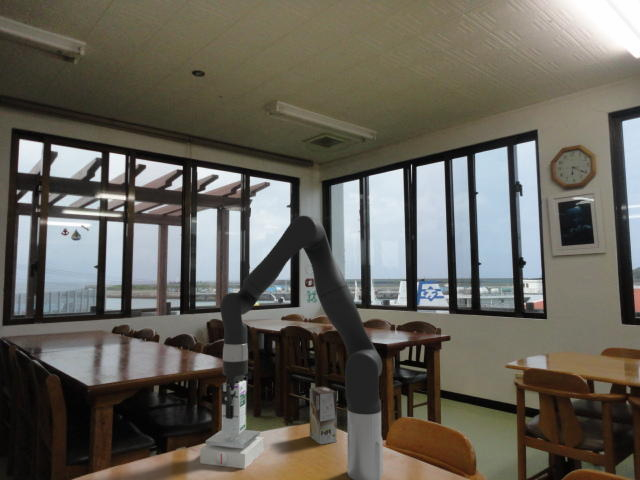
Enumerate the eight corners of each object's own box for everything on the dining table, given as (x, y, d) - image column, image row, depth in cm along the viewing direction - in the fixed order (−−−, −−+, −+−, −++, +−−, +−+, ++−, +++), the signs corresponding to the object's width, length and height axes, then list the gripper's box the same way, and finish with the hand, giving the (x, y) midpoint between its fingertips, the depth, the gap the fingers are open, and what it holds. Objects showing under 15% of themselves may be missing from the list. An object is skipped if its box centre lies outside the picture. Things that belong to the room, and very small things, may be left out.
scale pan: (259, 434, 139) (259, 431, 139) (243, 448, 127) (243, 444, 128) (224, 431, 142) (224, 427, 142) (205, 444, 131) (205, 440, 131)
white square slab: (263, 450, 139) (264, 437, 140) (243, 469, 125) (244, 454, 125) (222, 446, 143) (223, 433, 143) (198, 464, 129) (199, 449, 129)
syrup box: (239, 434, 132) (240, 383, 133) (220, 433, 133) (221, 383, 134) (246, 428, 137) (247, 379, 138) (228, 427, 138) (229, 378, 140)
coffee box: (337, 442, 147) (337, 391, 148) (319, 445, 144) (320, 393, 146) (325, 433, 155) (325, 385, 157) (308, 436, 153) (308, 387, 154)
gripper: (236, 363, 129) (235, 423, 128) (256, 355, 143) (255, 409, 141) (212, 361, 131) (211, 421, 129) (234, 354, 145) (233, 407, 143)
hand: (234, 415), depth 135 cm, fingers closed on syrup box, 6 cm apart
